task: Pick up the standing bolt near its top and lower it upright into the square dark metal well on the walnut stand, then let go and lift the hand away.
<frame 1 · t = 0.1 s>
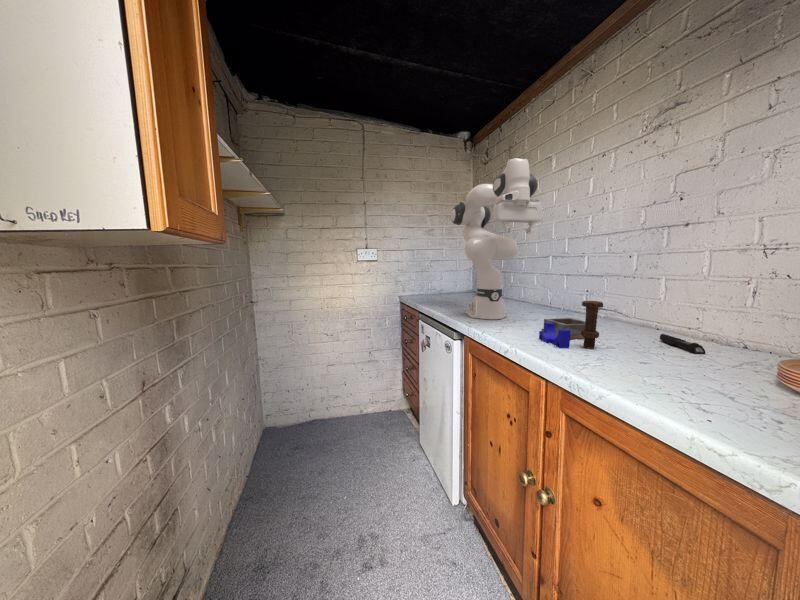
hand: (518, 233, 124), 39 cm above the counter, tool pointing down, fingers open, 8 cm apart
bolt stand: (567, 334, 115), on the counter
bolt: (588, 348, 99), on the counter
electric trimmer: (679, 348, 99), on the counter
cable clip: (553, 344, 104), on the counter
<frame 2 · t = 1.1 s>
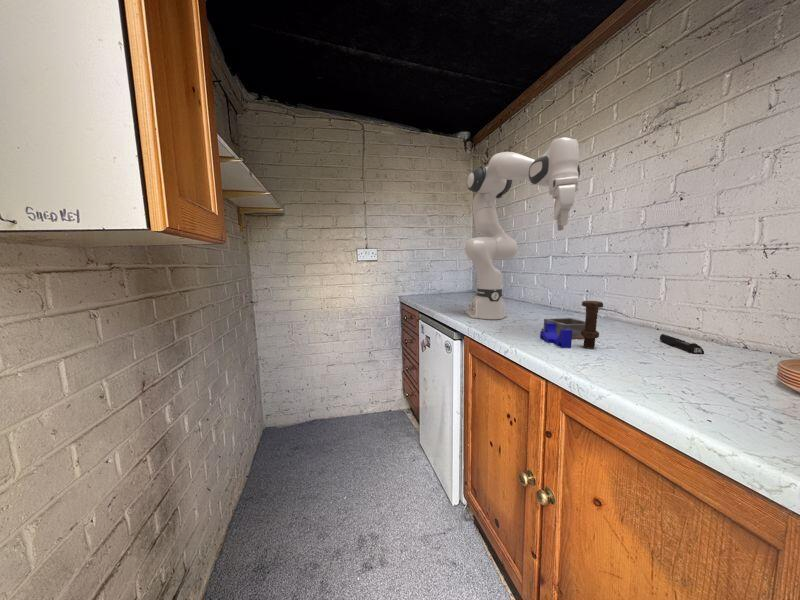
hand: (562, 227, 104), 39 cm above the counter, tool pointing down, fingers open, 8 cm apart
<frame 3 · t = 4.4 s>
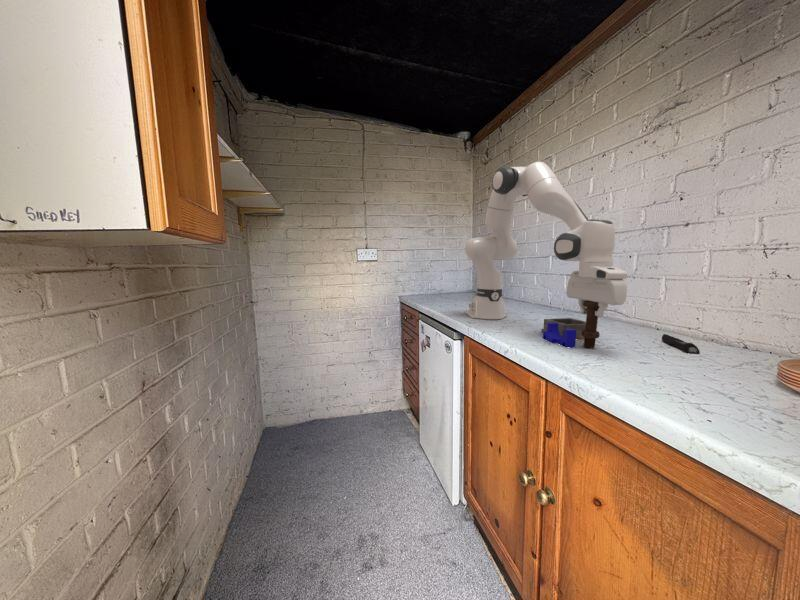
hand: (591, 315, 98), 11 cm above the counter, tool pointing down, fingers closed on bolt, 5 cm apart
bolt: (588, 347, 99), on the counter, touching gripper
cable clip: (557, 344, 105), on the counter
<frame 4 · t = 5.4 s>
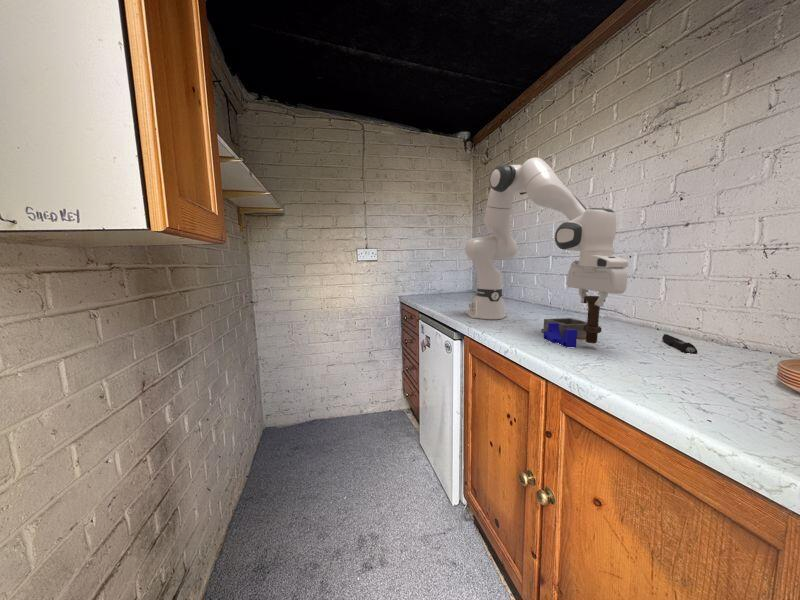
hand: (591, 304, 98), 14 cm above the counter, tool pointing down, fingers closed on bolt, 4 cm apart
bolt: (591, 343, 98), point 1 cm above the counter, touching gripper
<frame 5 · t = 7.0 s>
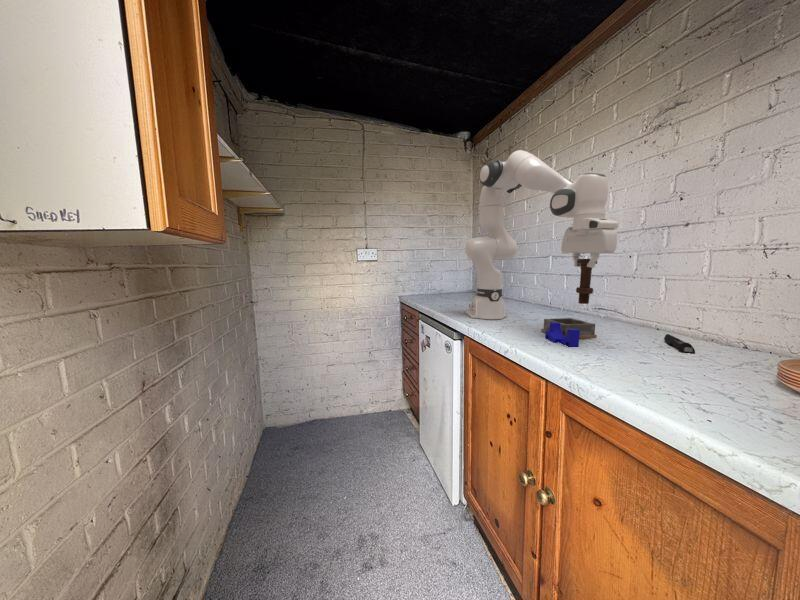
hand: (583, 267, 103), 26 cm above the counter, tool pointing down, fingers closed on bolt, 4 cm apart
bolt: (583, 304, 103), point 13 cm above the counter, touching gripper
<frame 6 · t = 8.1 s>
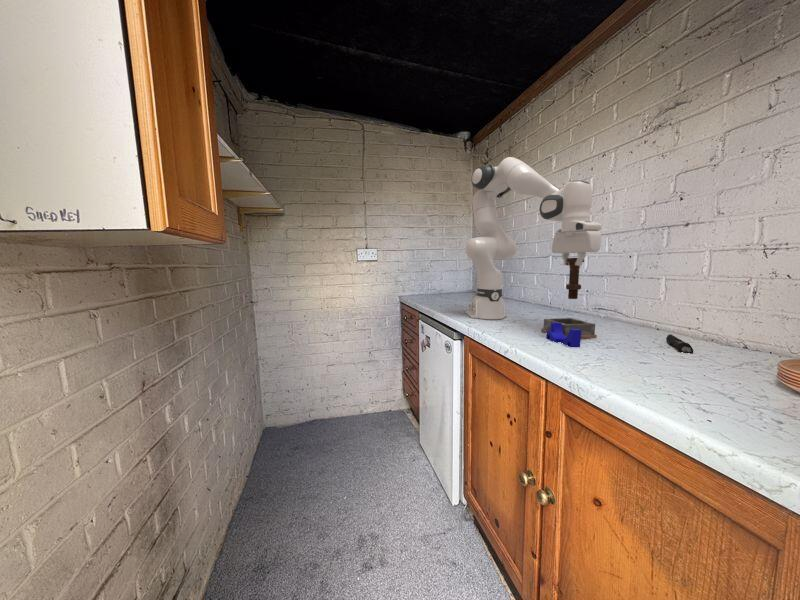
hand: (572, 265, 112), 26 cm above the counter, tool pointing down, fingers closed on bolt, 4 cm apart
bolt: (572, 299, 113), point 14 cm above the counter, touching gripper
when the fingers open (13 cm above the counter, at t = 11.2 s): bolt stays where it is, resting on bolt stand.
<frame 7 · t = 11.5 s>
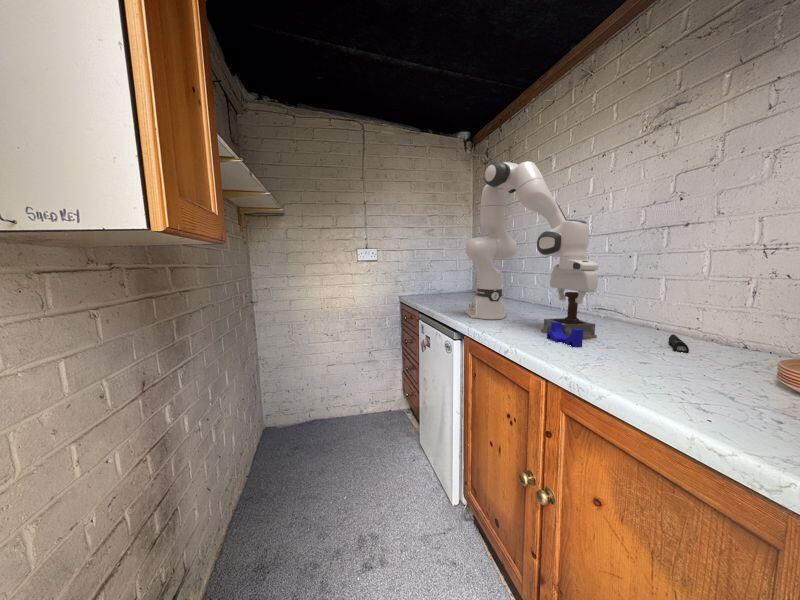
hand: (570, 301, 114), 13 cm above the counter, tool pointing down, fingers open, 7 cm apart
bolt: (570, 332, 114), point 1 cm above the counter, touching bolt stand
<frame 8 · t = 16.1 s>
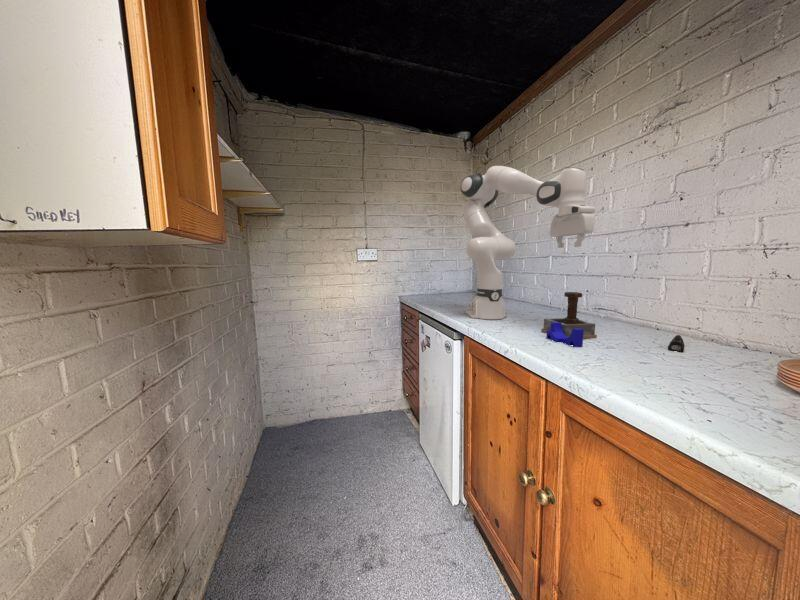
hand: (568, 247, 121), 33 cm above the counter, tool pointing down, fingers open, 8 cm apart
at the end: bolt 1.1 cm off-centre on the bolt stand, point 1.0 cm above the bolt stand's base; bolt tilted 0°; the gripper is holding nothing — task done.
